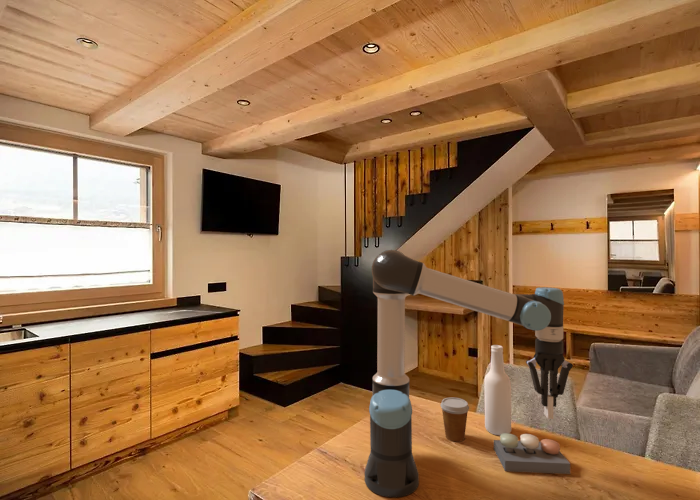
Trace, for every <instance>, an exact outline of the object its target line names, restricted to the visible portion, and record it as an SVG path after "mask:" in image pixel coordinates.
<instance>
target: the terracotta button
mask: <svg viewBox="0 0 700 500" xmlns="http://www.w3.org/2000/svg"><path fill="white" fill-rule="evenodd" d="M540 442H541V449H542V450H543V451H544V452H546V454H550V455H554V454H559V453H560V452H561V451H560V450H561V447H560V446H561V445H560V443H559V442H558V441H557V440H553V439H549V438H545V439H543V438H542V439H541V440H540Z"/></svg>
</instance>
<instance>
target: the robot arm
mask: <svg viewBox="0 0 700 500" xmlns="http://www.w3.org/2000/svg"><path fill="white" fill-rule="evenodd" d="M371 274H372V275H371V277H372V293H373V294H374V295H375V296H376V297H377V298H376V299H377V352H376V353H377V356H376V357H377V359H376V360H377V361H376V363H377V366H376V367H377V369H376V370H377V372H376V373H375V374H374V375H373V376H372V395H371V397H370V402H369V406H368V408H369V410H368V411H369V412H368V413H369V415H370V416H369V425H370V426H369V430H370V437H369V438H370V453H369V455H368V458H367V463H366V465H365V468H364V482H365V485H366V487H367V489H368V490H370V491H371V492H373V494H377V495H379V496H381V497H385V498H401V497H405V496H409V495H411V494H412V493H414V492H415V491H416V490H417V489H418V487H419V484H420V478H419V475H420V474H419V471H418V467H417V465H416V461H415V459H414V456H413V435H412V434H413V433H412V430H413V429H412V428H413V426H412V425H413V423H412V420H413V419H412V418H413V417H412V415H413V408H412V401H411V399H410V377H409V376H408V375H407V374H406V373H405V368H406V367H405V357H406V356H405V354H406V353H405V352H406V350H405V346H406V345H405V341H406V340H405V339H406V338H405V337H406V336H405V335H406V333H405V332H406V331H405V330H406V328H405V325H406V323H405V322H406V314H405V313H406V311H405V310H406V309H405V308H406V305H405V304H406V297H407V296H409V295H410V296H416V295H419V294H420V295H423V296H426V297H429V298H433V299H436V300H439V301H442V302H444V303H449V304H452V305H455V306H458V307H461V308H465V309H469V310H471V311H473V312H474V311H475V312H478V313H481V314H485V315H487V316H491V317H493V318H497V319H500V320H502V321H503V320H505V321H508V322H510V323H513V324H516V325H519V326H523V328H525V329H527V330H532V331H534V333H535V335H534V337H536V338H535V341H534V343H535V346H534V350H535V351H534V355H533V358H532V359H530V360H529V359H527V360H526V361H525V364H526V365H527V367H528V368H529V373H530V376H531V379H532V385H533V388H534V390H535V392H536V393H537V394H539V395H541V396H540V397H541V405H542V406H543V408H544V411H543V413H544V414H543V415H544V416H545V417H546V418H547V419H548V420H549V419H550V420H551V419H552V420H554V408H556V406H557V398H559V396H561V395H564V393H565V389H566V385H567V382H568V381H567V380H568V377H569V373H570V371H571V369H572V368H573V366H574V365H573V364H572V363H571V362H570V361H567V360H566V359H565V356H564V341H563V339H564V306H565V303H564V302H565V301H564V292H563V290H562V289H560V288H558V287H557V288H556V287H545V286H544V287H536V288H535V291H534V293H532V294H531V293H530V294H521V293H520V294H519V293H512V292H507V291H505V290H501V289H498V288H494V287H493V286H492V287H491V286H488V285H484V284H482V283H477V282H476V281H471V280H468V279H466V278H462V277H459V276H455V275H453V274H449V273H445V272H441V271H439V270H436V269H432V268H429V267H427V266H426V264H425V263H424V262H421V261H419V260H415V259H413V258H410V257H408V256H407V255H405V254H404V253H402V252H401V251H399V250H397V249H396V250H394V249H386V250H384V251H382V252H380V253H378V255H377V256H376V257H375V258H374V260H373V261H372V266H371ZM537 365H538V366H539V368H540V369H539V370H540V378H539V375H538V374H539V373H538V371H537V370H538V369H537V368H536V367H537ZM559 368H560V372H559ZM558 374H559V376H558Z"/></svg>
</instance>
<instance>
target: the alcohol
mask: <svg viewBox="0 0 700 500" xmlns="http://www.w3.org/2000/svg"><path fill="white" fill-rule="evenodd" d="M490 348H491V349H490V352H491V354H490V355H491V356H490V369H489V370H488V372H487V373H486V374H485V377H484V382H483V383H484V384H483V385H484V386H483V387H484V388H483V389H484V390H483V391H484V427H485V429H486V431H487V432H489V433H490V434H491V435H495V436H499V437H500V435H501V434H503V433H509V434H511V432H512V383H511V378H510V376H509V375H508V374H507V372H506V371H505V363H504V350H503V349H504V347H503V346H502V345H498V344H493V345H491V346H490Z"/></svg>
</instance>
